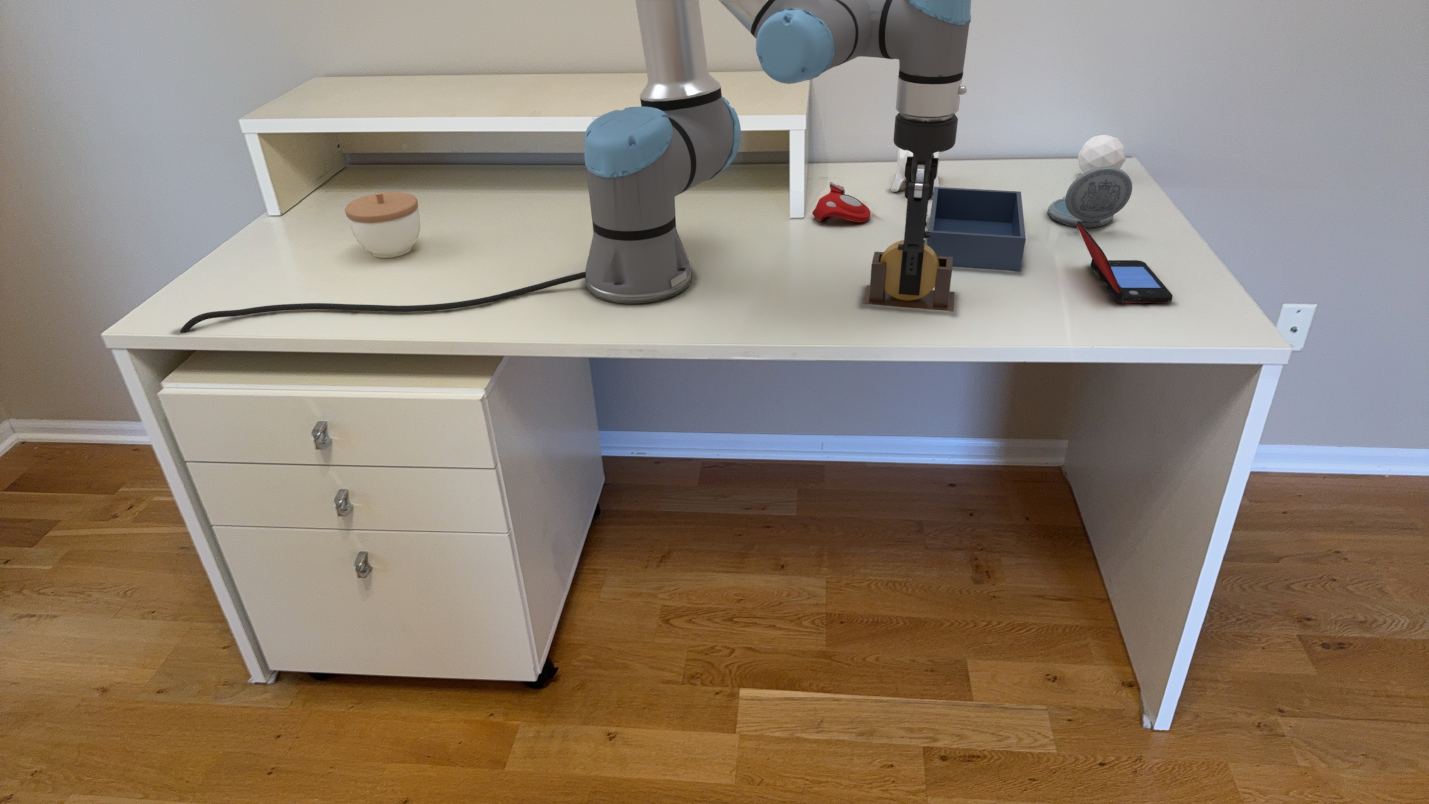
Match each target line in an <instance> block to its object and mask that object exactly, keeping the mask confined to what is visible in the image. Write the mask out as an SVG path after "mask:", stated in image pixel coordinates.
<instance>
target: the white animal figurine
mask: <svg viewBox="0 0 1429 804" xmlns="http://www.w3.org/2000/svg"><path fill="white" fill-rule="evenodd" d="M933 154H934V158H939V160H938V167H939V166H940V157H941V152H935V153H933ZM907 156H908V157H913V153H912V152H910V151H908V150H906V151H905V150H902V149H900V148H898V147H897V160H896V170H895V171H896V172H895V179H894V181H893V183H892V185H891V188H890V189H891V190H890V191H891V192H893V193H897V192H898V191H899V190H900V188H901V185H902V184H903V183H904V182H906V177H905V165H906V162H907ZM934 187H941V184H940V181H939V168H938V169H937V177H936V179H935V180H934ZM934 187H933V191H934Z"/></svg>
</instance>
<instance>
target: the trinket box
mask: <svg viewBox="0 0 1429 804" xmlns="http://www.w3.org/2000/svg"><path fill="white" fill-rule="evenodd" d="M344 212H345V215H346V217H347V221H348V224H349V227H350V230H351V233H352V235H353V236H354V238H355V241H356V242H357V243H358V244H359V245H360V246H361V247H362V249H364V250H366V251H367V252H369V253H370V254H371V255H372V256H374V257H375V258H378V259H379V258H380V259H392V258H397V257H401V256H404V255H407V254H409V253H410V252H411V251H412V249H413V246H414V245H415V244H416V242H417V240H418V239H419V236H420V233H421V216H420V210H419V202H418V199H417V197H416V196H415V195H413V194H411V193H409V192H407V193H406V192H400V191H386V192H385V191H384V192H383V191H382V192H381V191H380V192H379V191H378V192H375V193H372V194H368V195H363V196H361V197H358V198H356V199H354V200H352V201H350V202H349V203H347V204H346V206H345V208H344Z"/></svg>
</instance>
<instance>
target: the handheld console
mask: <svg viewBox="0 0 1429 804" xmlns="http://www.w3.org/2000/svg"><path fill="white" fill-rule="evenodd" d="M1077 229H1078V231H1079V233H1080V236H1081V238H1082V240H1083V242H1084V244H1085V247H1086V249H1087V252H1088V253H1089V255H1090V257H1091V262H1090V268H1091V269H1092V271H1093V272H1095V275H1097V277H1098V278H1099V279H1100V280H1101V281H1102V282H1103V283H1104V284H1106V289H1107V291H1108V292H1109V293H1110V294H1111V296H1112V298H1113V300H1114V301H1115V302H1116V303H1118V304H1122V303H1125V304H1127V303H1128V304H1129V303H1132V304H1133V303H1136V304H1138V303H1139V304H1143V303H1144V304H1160V303H1163V304H1164V303H1165V304H1166V303H1170V302H1171V301H1172V300H1173V297H1174V295H1173V293H1172V292H1171V291H1170V290H1169V289H1168V287H1167V286H1166V285H1165V284H1164V283H1163V282H1162V280H1161V279H1160V278H1159V277H1158V276H1157V275H1156V274H1155V272H1154V271H1153V270H1152V269H1151V268H1150V266H1149V265H1148V264H1147V263H1146V262H1145V261H1143V260H1139V259H1108V257H1107V255H1106V253H1105V252H1104V250H1103V249H1102V248H1101V247H1100V246H1099V244H1098V243H1097V241H1096V240H1095V238H1093V236H1092V235H1091V234H1090V232H1089V231H1088V230H1087V229H1086V227H1084V226H1083V225H1082V224H1081V223H1080V221H1078V222H1077Z"/></svg>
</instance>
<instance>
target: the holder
mask: <svg viewBox="0 0 1429 804" xmlns="http://www.w3.org/2000/svg"><path fill="white" fill-rule="evenodd" d="M883 253H884V251H874V252H873V257H872V260H871V267H870V268H871V269H870V280H869V284H866V287H865V291H864V295H863V299H862V303H861V304H862V305H871V306H883V307H892V308H893V307H896V308H907V309H917V310H918V309H919V310H928V311H929V310H931V311H940V312H941V311H942V312H943V311H944V312H954V308H955V291H950V290H951V284H952V283H951V282H952V273H953V266H952V265H953V257H945V256H938V260H939V266H938V267H937V275H936V284H935V287H934V289H933V290H932V291H931V292H930V293H928V294H927V295H926V296H924V297H922V298H920V299H916V300H909V301H908V300H900V299H897V298H894V297H892V296H891V295H889V294H888V293H887V292H886V291H885V290H884V288H885V275H886V263H885V262H880V259H881V256H882V254H883Z"/></svg>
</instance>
